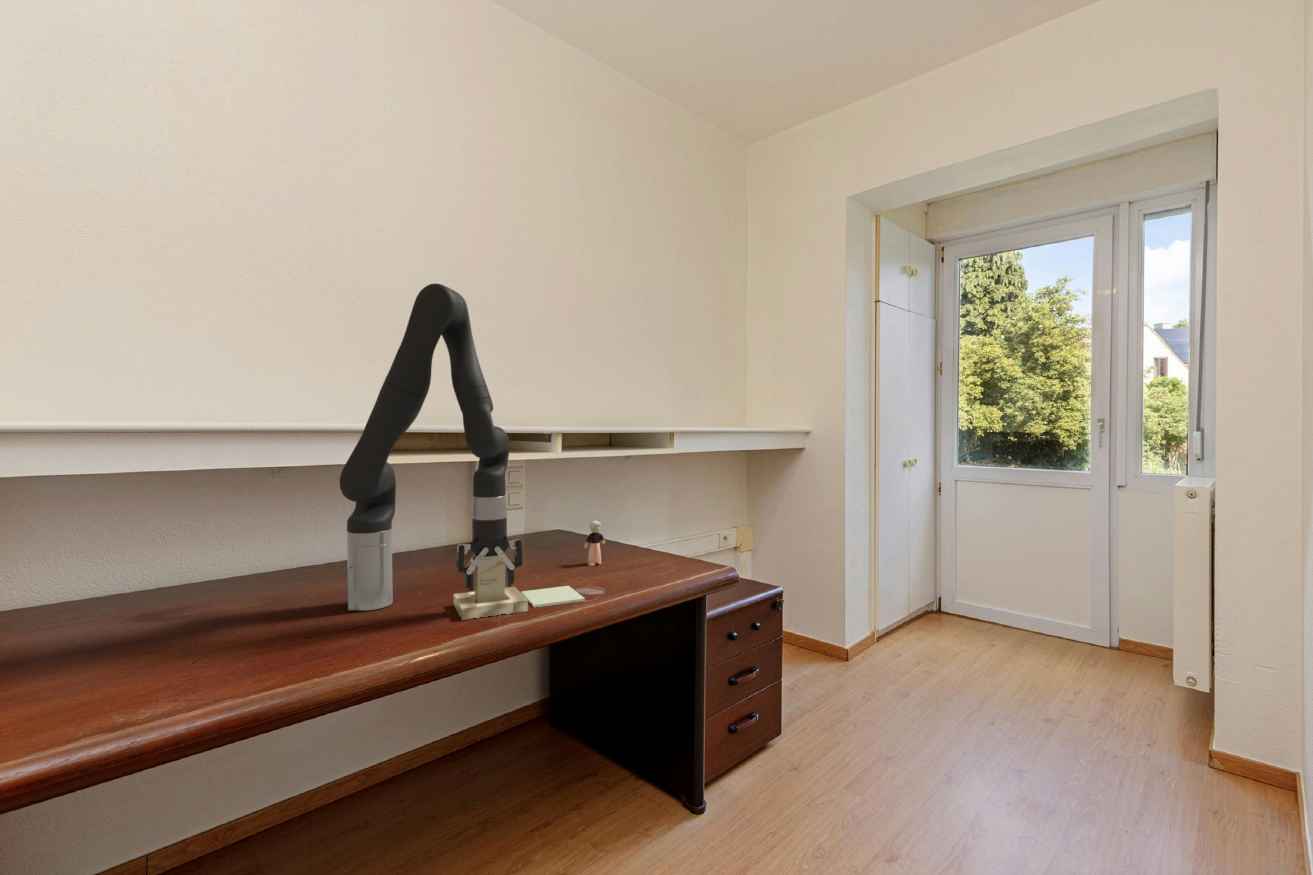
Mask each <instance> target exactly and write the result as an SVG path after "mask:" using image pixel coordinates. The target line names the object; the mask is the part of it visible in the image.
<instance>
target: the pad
mask: <svg viewBox="0 0 1313 875" xmlns="http://www.w3.org/2000/svg"><path fill="white" fill-rule="evenodd" d="M520 593H521V594H522V595H523V596H524V597H525V598H526V599H527V600H528V604H530V603H531V604H532V605H531V604H530V605H531V606H532V607H533V608H534V609H535V608H536V607H537V608H542V607H550V606H556V605H565V604H572V603H579V602H585V601H586V598H585V597H584V596H583V595H581V594H580V593H579V592H577V591H576V590H575V589H574V588H572V587H571V586H569V585H563V586H555V587H547V588H537V589H531V590H524V591H523V590H522V591H520Z"/></svg>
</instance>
